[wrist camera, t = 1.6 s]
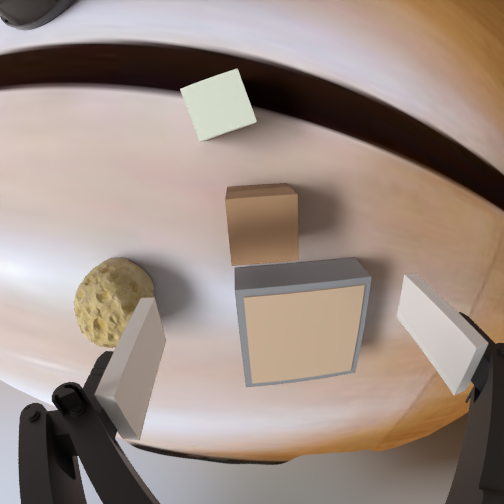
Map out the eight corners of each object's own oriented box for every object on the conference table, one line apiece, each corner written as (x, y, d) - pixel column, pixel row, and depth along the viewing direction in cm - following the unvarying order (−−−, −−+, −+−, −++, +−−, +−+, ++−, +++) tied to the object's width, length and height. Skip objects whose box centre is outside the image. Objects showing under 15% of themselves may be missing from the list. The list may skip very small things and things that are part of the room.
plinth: (234, 267, 33) (234, 291, 28) (354, 257, 33) (372, 277, 28) (244, 360, 38) (246, 388, 33) (344, 348, 39) (355, 373, 34)
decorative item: (116, 243, 35) (49, 273, 27) (163, 258, 30) (82, 300, 22) (132, 306, 39) (75, 340, 31) (179, 331, 34) (115, 377, 26)
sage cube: (189, 96, 26) (180, 89, 21) (236, 79, 25) (237, 68, 21) (205, 140, 28) (199, 141, 23) (253, 124, 27) (256, 121, 23)
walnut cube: (227, 187, 30) (225, 199, 24) (285, 182, 30) (297, 194, 24) (232, 242, 32) (231, 265, 26) (287, 237, 32) (298, 260, 27)
